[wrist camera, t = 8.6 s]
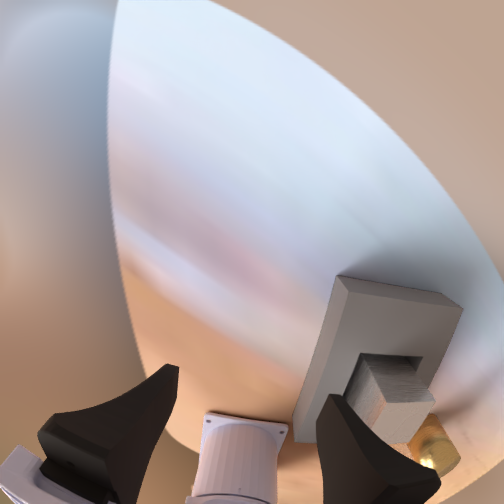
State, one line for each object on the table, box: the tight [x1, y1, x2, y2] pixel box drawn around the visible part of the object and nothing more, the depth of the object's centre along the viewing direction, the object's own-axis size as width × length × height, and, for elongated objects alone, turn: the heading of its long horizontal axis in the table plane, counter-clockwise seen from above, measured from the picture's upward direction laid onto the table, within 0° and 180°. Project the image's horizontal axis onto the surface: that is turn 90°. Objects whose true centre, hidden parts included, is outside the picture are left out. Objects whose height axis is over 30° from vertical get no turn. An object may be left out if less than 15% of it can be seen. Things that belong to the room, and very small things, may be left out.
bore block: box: [292, 275, 463, 443], centre depth 20 cm, size 14×10×4 cm
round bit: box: [407, 414, 461, 478], centre depth 20 cm, size 4×4×7 cm
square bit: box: [344, 353, 436, 444], centre depth 18 cm, size 4×4×7 cm
